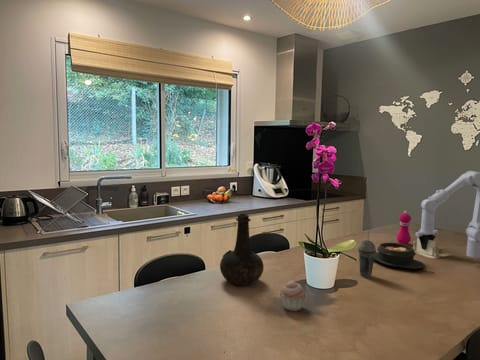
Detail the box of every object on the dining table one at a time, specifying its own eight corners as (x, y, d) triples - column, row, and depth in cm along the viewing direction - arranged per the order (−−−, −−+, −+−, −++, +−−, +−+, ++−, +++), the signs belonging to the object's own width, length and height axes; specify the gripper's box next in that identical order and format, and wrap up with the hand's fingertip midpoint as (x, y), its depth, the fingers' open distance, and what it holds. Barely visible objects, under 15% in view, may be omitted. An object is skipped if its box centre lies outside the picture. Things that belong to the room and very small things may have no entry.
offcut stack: (432, 249, 196) (432, 245, 196) (442, 252, 191) (443, 248, 190) (426, 250, 194) (427, 246, 194) (437, 253, 189) (437, 249, 188)
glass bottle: (234, 270, 163) (235, 208, 159) (270, 279, 153) (272, 213, 150) (210, 284, 147) (211, 215, 144) (249, 294, 138) (251, 221, 135)
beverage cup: (355, 277, 158) (357, 231, 155) (358, 271, 164) (360, 227, 162) (373, 280, 154) (375, 233, 152) (375, 274, 161) (378, 230, 158)
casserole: (361, 261, 178) (362, 244, 177) (378, 253, 191) (379, 237, 190) (415, 276, 160) (416, 257, 159) (429, 266, 173) (431, 248, 172)
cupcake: (311, 310, 126) (313, 282, 125) (290, 316, 122) (291, 287, 121) (294, 299, 134) (295, 273, 133) (273, 304, 130) (274, 277, 129)
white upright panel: (418, 250, 193) (419, 237, 193) (434, 255, 185) (435, 241, 185) (416, 250, 193) (417, 237, 192) (431, 255, 185) (433, 241, 184)
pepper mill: (411, 248, 200) (414, 212, 198) (397, 247, 202) (400, 211, 200) (408, 244, 208) (410, 210, 205) (394, 243, 209) (397, 209, 207)
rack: (426, 249, 200) (427, 238, 199) (451, 256, 188) (452, 245, 187) (407, 252, 193) (408, 241, 193) (431, 260, 181) (432, 248, 180)
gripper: (430, 220, 194) (428, 245, 195) (410, 222, 188) (409, 248, 189) (442, 223, 188) (440, 248, 189) (423, 225, 181) (421, 252, 183)
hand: (425, 248), depth 189 cm, fingers closed on white upright panel, 2 cm apart
